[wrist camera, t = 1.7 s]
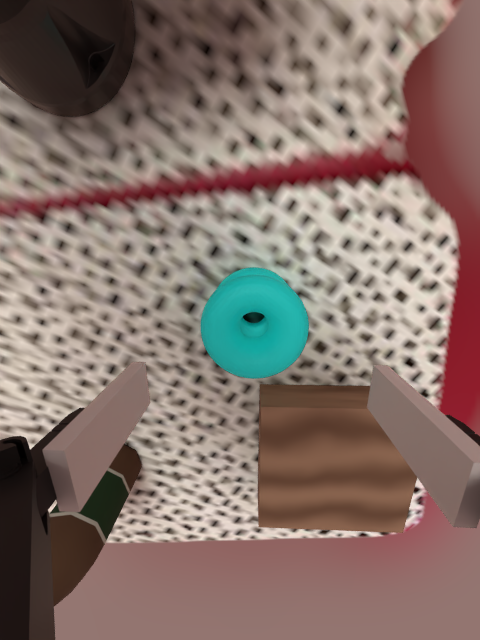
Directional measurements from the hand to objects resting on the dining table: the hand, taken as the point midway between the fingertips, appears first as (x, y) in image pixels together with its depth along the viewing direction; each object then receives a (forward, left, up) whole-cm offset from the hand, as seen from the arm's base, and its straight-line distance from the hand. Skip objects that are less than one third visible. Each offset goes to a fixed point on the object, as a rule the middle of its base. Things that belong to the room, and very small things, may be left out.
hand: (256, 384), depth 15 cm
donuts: (0, 0, -18) cm, 18 cm away
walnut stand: (+21, +11, -18) cm, 29 cm away
